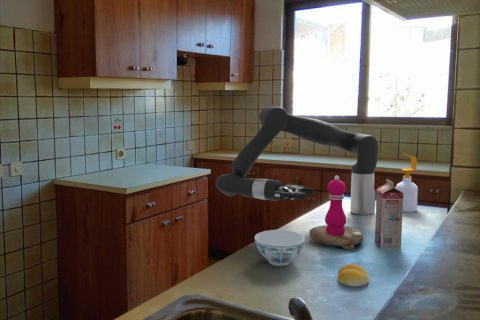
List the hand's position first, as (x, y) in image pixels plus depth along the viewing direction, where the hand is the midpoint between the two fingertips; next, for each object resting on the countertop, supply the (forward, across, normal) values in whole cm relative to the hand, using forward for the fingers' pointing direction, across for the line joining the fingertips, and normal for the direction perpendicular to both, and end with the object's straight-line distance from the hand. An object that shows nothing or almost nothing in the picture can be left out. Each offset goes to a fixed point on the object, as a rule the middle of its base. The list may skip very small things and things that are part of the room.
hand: (309, 194), depth 159 cm
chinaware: (0, -26, +16) cm, 31 cm away
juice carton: (+26, +4, +16) cm, 31 cm away
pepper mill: (+10, 0, +13) cm, 16 cm away
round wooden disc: (+10, 0, +16) cm, 18 cm away
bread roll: (+23, -30, +16) cm, 41 cm away
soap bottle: (+25, +55, +16) cm, 62 cm away
